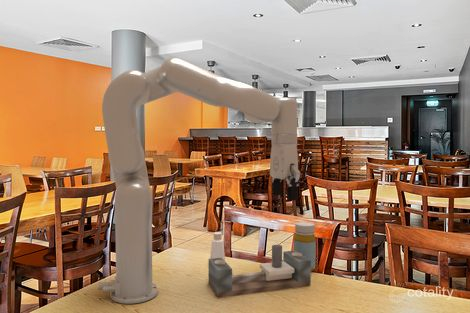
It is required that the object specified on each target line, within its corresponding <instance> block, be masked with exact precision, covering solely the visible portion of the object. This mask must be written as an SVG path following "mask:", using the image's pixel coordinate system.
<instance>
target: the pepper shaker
mask: <svg viewBox="0 0 470 313" xmlns="http://www.w3.org/2000/svg"><path fill="white" fill-rule="evenodd" d="M222 234H223V233H222V232H221V231H215V232H213V239H212V240H211V248H210V258H209V259H213V258H223V260H224V261H225V262H226V253H225V245H224V244H225V243H224V240H223V239H222V238H223V236H222Z"/></svg>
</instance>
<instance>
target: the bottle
mask: <svg viewBox="0 0 470 313" xmlns="http://www.w3.org/2000/svg"><path fill="white" fill-rule="evenodd" d="M294 225H295V226H294V227H295V228H294V232H295V234H294V236H293V251H297V252H298V253H301V254H302V255H303V256H305V257H306V258H308V259H309V260H311V273H312V272H313V271H314V270H315V269H316V245H317V244H316V241H317V239H316V236H315V229H316V228H315V226H316V225H315V223H313V222H312V221H311V222H310V221H298V222H295V224H294Z"/></svg>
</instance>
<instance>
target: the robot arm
mask: <svg viewBox="0 0 470 313" xmlns="http://www.w3.org/2000/svg"><path fill="white" fill-rule="evenodd" d="M175 93H181V94H182V95H185V96H187V97H191V98H192V99H194V100H197V101H200V102H202V103H204V104H206V105H209V106H214V107H221V108H226V109H231V110H235V111H238V112H240V113H242V114H243V115H244V118H245V119H246V120H248V121H249V122H250V123H252V124H263V123H270V122H271V124H270V125H271V148H270V158H269V159H270V160H269V162H270V163H269V175H270V176H271V182H272V183H271V184H272V186H271V187H272V188H271V189H272V190H271V192H272V196H282V195H283V181H282V180H286V183H287V186H286V200H287V201H298V199H299V198H298V196H299V193H298V192H299V189H298V188H299V186H300V185H299V183H300V177H301V171H300V170H299V158H298V149H297V145H298V102H297V100H296V98H293V97H274V96H273V95H271V94H270V93H268V92H265V91H263V90H261V89H259V88H257V87H254V86H251V85H249V84H246V83H243V82H240V81H237V80H234V79H231V78H228V77H224V76H221V75H219V74H217V73H214V72H212V71H210V70H207V69H205V68H204V67H203V68H202V67H200V66H198V65H196V64H194V63H191V62H189V61H187V60H185V59H182V58H179V57H169V58H167V59H166V60H164V61H163V62H162V64H161V66H159V67H156V68H154V69H151V70H148V71H145V72H142V71H140V70H137V69H130V70H126V71H123V72H122V73H120V74H118V75H117V76H116V77H115V78H113V80H112V81H111V82H110V83H109V84H108V85H107V88H106V90H105V92H104V94H103V97H102V98H103V99H102V103H101V113H102V121H103V127H104V134H105V140H106V146H107V151H108V152H107V154H108V155H107V157H108V162H109V165H110V166H111V167H112V168H111V169H112V174H113V179H114V185H115V193H114V194H115V195H114V220H115V221H114V223H115V224H114V225H115V226H114V228H115V229H114V230H115V275H114V279H110V281H99V282H98V285H97V286H98V287H97V288H98V290H102V292H103V293H105V292H110V294H109V298H110V299H111V300H112V301H114V302H116V303H118V304H124V305H125V304H127V305H130V304H132V305H133V304H139V303H145V302H147V301H149V300H152V299H154V298H155V297H156V296H157V295H158V293H159V287H158V286H157V285H156V284H154V283H153V192H152V188H151V185H150V180H149V176H148V170H147V169H148V168H147V164H146V157H145V150H144V148H143V146H142V143H141V138H140V132H139V124H138V118H137V108H138V106H143V105H145V104H148V103H151V102H154V101H157V100H159V99H162V98H165V97H167V96H170V95H173V94H175Z"/></svg>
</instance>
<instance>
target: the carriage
mask: <svg viewBox="0 0 470 313" xmlns="http://www.w3.org/2000/svg"><path fill="white" fill-rule="evenodd" d="M259 269H261V272H265V273H266V281H270V280H279V279H287V278H292V273H294V268H293V267H291V266H290V265H289V264H287V263H286V262H284V261H283V245H281V244H273V245H271V262H264V263H259Z"/></svg>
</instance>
